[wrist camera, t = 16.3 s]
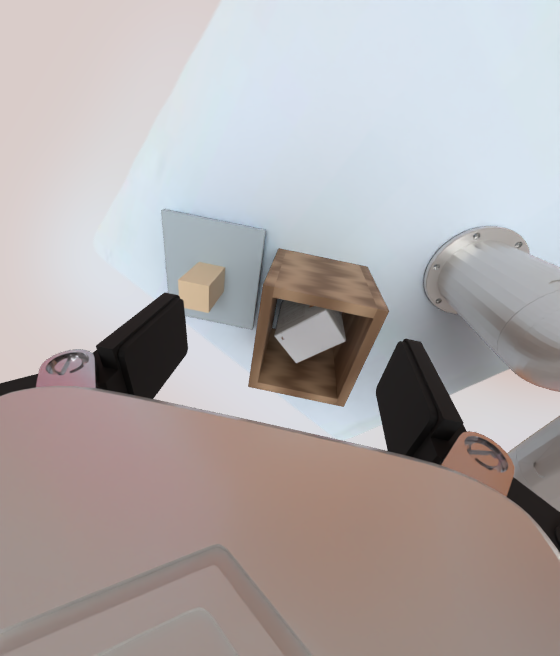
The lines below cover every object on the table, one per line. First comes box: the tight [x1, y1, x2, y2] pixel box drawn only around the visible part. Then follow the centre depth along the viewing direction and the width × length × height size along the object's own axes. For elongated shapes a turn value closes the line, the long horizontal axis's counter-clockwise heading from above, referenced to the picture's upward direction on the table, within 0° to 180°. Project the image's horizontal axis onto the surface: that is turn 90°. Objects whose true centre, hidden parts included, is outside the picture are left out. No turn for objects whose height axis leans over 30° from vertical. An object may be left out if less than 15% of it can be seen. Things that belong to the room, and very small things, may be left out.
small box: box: [274, 300, 346, 363], centre depth 38 cm, size 8×6×10 cm
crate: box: [248, 248, 389, 407], centre depth 37 cm, size 13×15×14 cm
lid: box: [161, 209, 266, 330], centre depth 37 cm, size 14×16×9 cm
